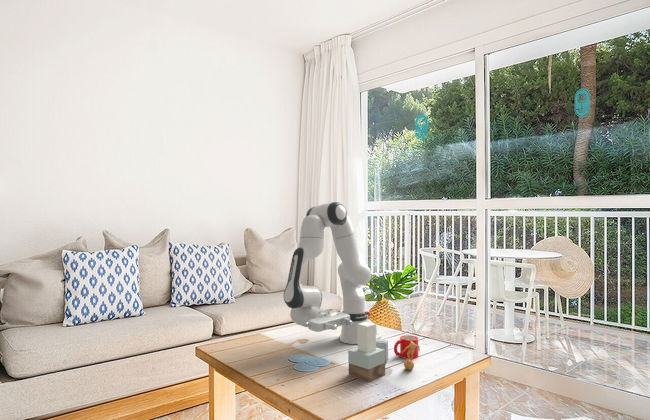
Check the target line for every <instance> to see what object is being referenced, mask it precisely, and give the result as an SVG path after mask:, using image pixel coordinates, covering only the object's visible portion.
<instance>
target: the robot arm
mask: <svg viewBox="0 0 650 420" xmlns="http://www.w3.org/2000/svg"><path fill="white" fill-rule="evenodd" d="M347 212H348V211H347V209H346V207H345V206H344V204H343V203H341V202H338V201H337V202H336V201H335V202H334V201H333V202H328V203H327V202H326V203H322V204H320V205H319V204H318V205H317V206H312V207H311V208H310V209H308V210H307V211H306V215H305V217H304V218H303V220H302V222H301V227H300V234H299V243H298V246H297V248H295V250H294V251H293V254H292V257H291V261H290V268H289V272H288V278H287V283H286V285H285V289H284V291H283V301H284V303H285V304H286V306H287V307H288V308H290V313H289V315H290V319H291V321H292V322H293V323H295V324H296V325H298V326H301V327H304V328H308V329H309V330H311V331H313V332H315V333H321V332H323V331H327V330H333V331H335V330H337V329H338V327H341V328H340V331H341V332H340V335H339V340H340V342H342V343H344V344H350V345H358V324H359V323H363V322H369V323H373V324H375V323H374V322H373V321H372V320H370V319H369V317H370V316H371V315H372V312H371V311H370V310H367V311H366V294H365V293H364V290H363V286H365V285H367V284H368V283H369V282H370V281H371V280H372V270H371V268H370V267H369V266H368V264H367V262H366V260H365V258H364V256H363V254H362V252H361V250H360V249H361V248H360V247H359V243H358V240H357V236H356V232H355V229H354V226H353V223H352V221H351V219H350V217H349V215H348V214H347ZM328 227H329V228H330V230H331V236H332V239H333V242H334V246H335V247H334V248H335V251H336V253H337V255H338V258H339V259H340V260H341V262H340V264H339V265H338V267H337V274H338V277H339V281H340V286H341V292H342V306H343V307H342V311H337V310H336V309H333V308H330V309H323V308H321V306H322V302H323V294H322V291H321V289H320V288H319V287H318V286H316V285H302V282H301V281H302V276H303V271H304V267H305V265H306V263H307V262H308V261H310V260H314V259H315V258H317V257H319V256H320V255H321V254H322V253H323V251H324V250H323V249H324V245H325V243H324V242H325V234H324V233H325V231H324V230H325V228H328ZM368 316H369V317H368ZM382 337H383V336H382V334H381V333H379V332H378V329H377V326H376V339H382Z"/></svg>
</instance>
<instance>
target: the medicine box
mask: <svg viewBox="0 0 650 420" xmlns="http://www.w3.org/2000/svg"><path fill="white" fill-rule="evenodd" d="M376 348H380V349H384V350H385V364H387V363H388V361H389V340H388V339H381V338H379V339H376Z"/></svg>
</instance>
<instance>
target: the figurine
mask: <svg viewBox="0 0 650 420" xmlns="http://www.w3.org/2000/svg"><path fill="white" fill-rule="evenodd" d="M416 346H417V347H418V353H419V352H420V351H421V349H420V348H421V347H420V345H419V344H418V345H416V344H414V343H413V342H412V341H410V345H409V346H407V347H406V348H405V349H404V350H403V352H404V351H405V350H406V349H407V348H409V347H410V350H409V351H408V353H407V356H408V358H406V359H405V360H404V361H403V367H404V368H405V369H406V370H408V371H411V370H413V368H414V367H415V363H414V361H413V359H412V358H413V355H412V354H413V353H414V349H415V347H416ZM403 352H402V353H403ZM410 353H411V357H412V358H411V359H410V356H409V354H410Z"/></svg>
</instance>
